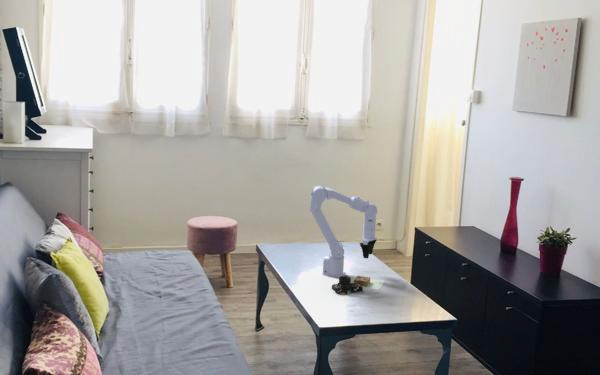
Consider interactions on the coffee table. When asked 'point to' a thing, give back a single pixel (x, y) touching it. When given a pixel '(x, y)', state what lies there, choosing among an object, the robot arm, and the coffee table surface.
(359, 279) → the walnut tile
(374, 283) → the mat
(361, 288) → the film camera
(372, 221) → the robot arm
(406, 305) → the coffee table surface
